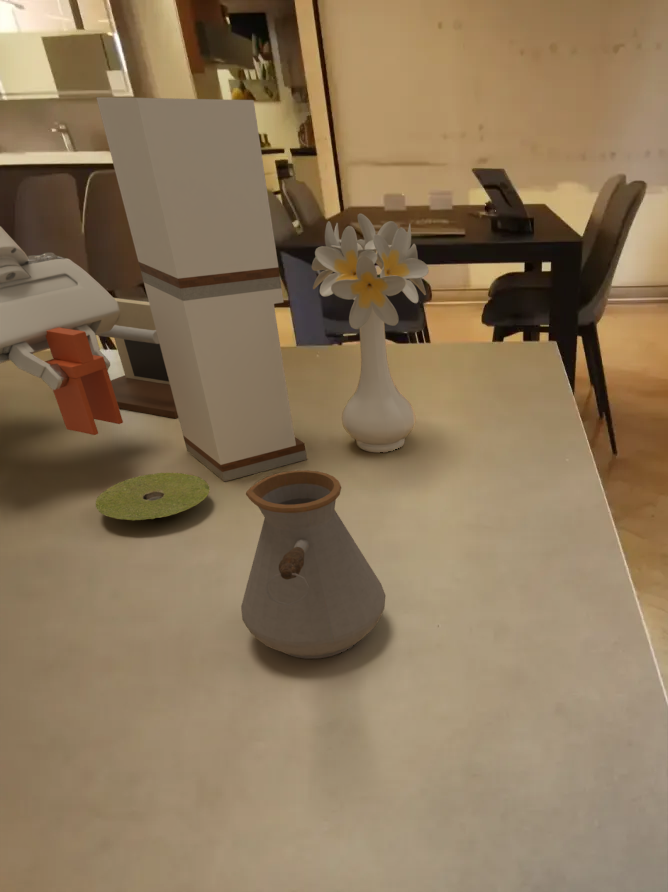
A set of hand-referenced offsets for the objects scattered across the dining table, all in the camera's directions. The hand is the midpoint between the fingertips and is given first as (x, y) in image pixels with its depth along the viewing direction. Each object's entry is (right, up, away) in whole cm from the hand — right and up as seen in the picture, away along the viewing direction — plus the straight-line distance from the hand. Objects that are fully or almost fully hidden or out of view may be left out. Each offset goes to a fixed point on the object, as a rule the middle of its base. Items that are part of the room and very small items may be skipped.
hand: (83, 377), depth 75 cm
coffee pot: (+30, -31, -20) cm, 47 cm away
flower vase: (+30, -3, +16) cm, 34 cm away
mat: (+8, -14, 0) cm, 16 cm away
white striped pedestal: (+13, -5, +13) cm, 19 cm away
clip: (-1, -4, +4) cm, 5 cm away
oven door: (-6, +8, +29) cm, 30 cm away
